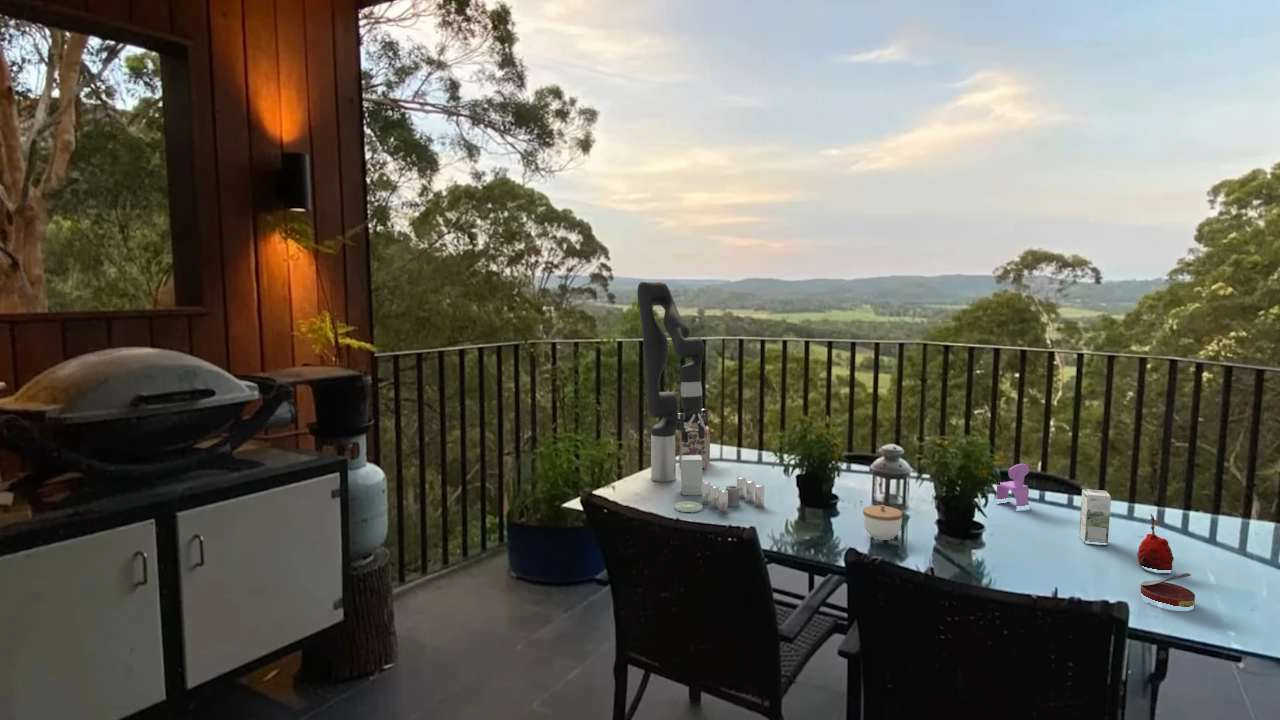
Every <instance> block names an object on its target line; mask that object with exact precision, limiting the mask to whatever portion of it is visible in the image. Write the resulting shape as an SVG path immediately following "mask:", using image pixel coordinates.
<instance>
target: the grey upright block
mask: <svg viewBox="0 0 1280 720" xmlns="http://www.w3.org/2000/svg"><path fill="white" fill-rule="evenodd" d="M725 490H727V491H728V508H729V507H730V508H738V507H740V499H739V486H737V485H733V484H732V485H726V486H725Z"/></svg>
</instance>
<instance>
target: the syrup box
mask: <svg viewBox="0 0 1280 720" xmlns="http://www.w3.org/2000/svg"><path fill="white" fill-rule="evenodd" d="M1111 503H1112V497H1111V495H1110V494H1109V493H1108V492H1107V491H1106V490H1098V489H1097V490H1096V489H1087V488H1086V489H1085V488H1082V491H1081V503H1080V504H1081V505H1080V521H1079V534H1080V536H1081V537H1082V538H1083V539H1084V541H1089V542H1099V543H1108V544H1109V533H1110V532H1109V531H1110V518H1111V505H1112V504H1111ZM1079 534H1078V535H1079Z"/></svg>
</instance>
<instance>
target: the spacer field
mask: <svg viewBox="0 0 1280 720" xmlns="http://www.w3.org/2000/svg"><path fill="white" fill-rule="evenodd" d="M746 479H747V477H745V476H737V477H736V486H739V500H745V503H746V504H754V507H755V508H758V509H762V508H764V507H765V485H764V484H756V481H755V480H746ZM700 496H701V497H700V498H701V501H700V502H701V503H700V504H702V505H705V504H707V505H709V509H712V510H718V514H722V515H727V514H728V513H729V506H728V491H727V490H726V489H720V486H718V485H711V482H710V481H702V483H701V495H700Z"/></svg>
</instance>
